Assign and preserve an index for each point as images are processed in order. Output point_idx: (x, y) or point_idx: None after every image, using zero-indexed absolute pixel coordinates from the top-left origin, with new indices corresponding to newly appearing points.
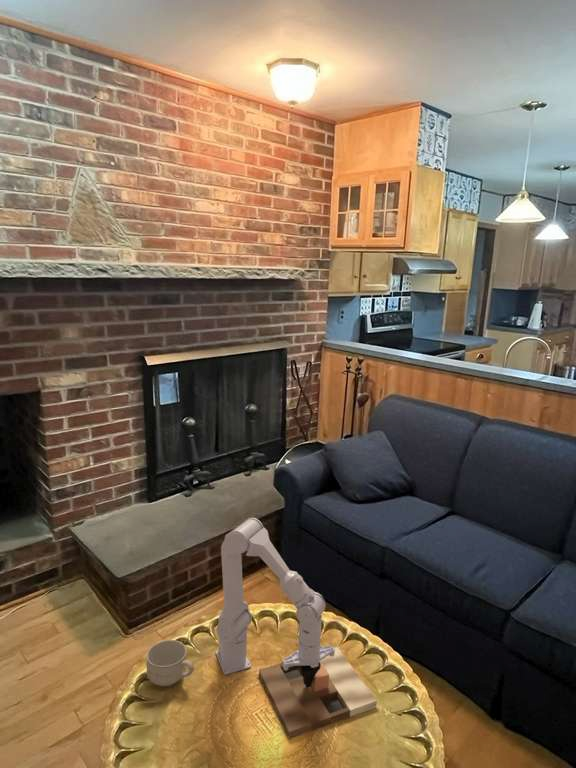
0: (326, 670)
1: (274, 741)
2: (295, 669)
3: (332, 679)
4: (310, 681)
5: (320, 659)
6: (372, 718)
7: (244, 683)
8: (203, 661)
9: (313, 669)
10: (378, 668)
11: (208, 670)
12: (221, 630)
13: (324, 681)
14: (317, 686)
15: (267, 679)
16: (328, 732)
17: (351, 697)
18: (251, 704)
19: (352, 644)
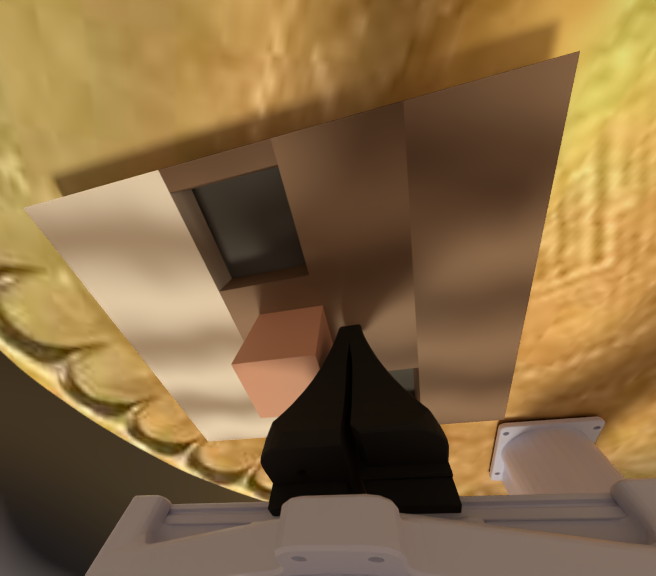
0: (243, 386)
1: (625, 68)
2: None
3: (236, 344)
4: (345, 345)
5: (239, 556)
6: (73, 141)
7: (553, 381)
8: (624, 456)
9: (339, 432)
10: (83, 357)
11: (633, 433)
12: None
13: (268, 336)
14: (308, 320)
15: (496, 384)
16: (303, 84)
17: (155, 248)
18: (586, 303)
19: (171, 431)
